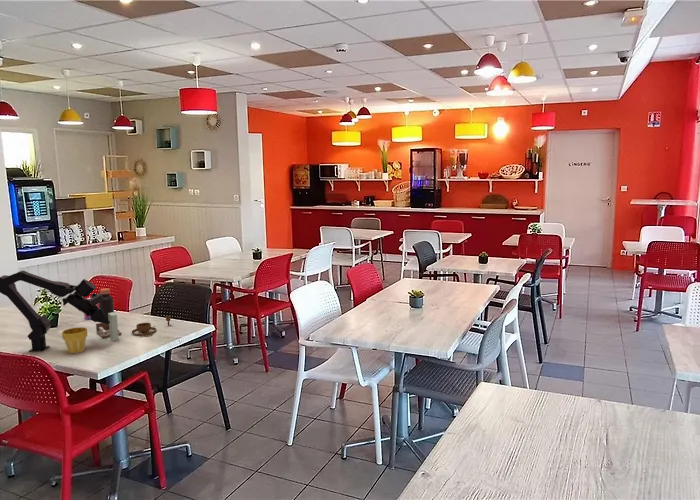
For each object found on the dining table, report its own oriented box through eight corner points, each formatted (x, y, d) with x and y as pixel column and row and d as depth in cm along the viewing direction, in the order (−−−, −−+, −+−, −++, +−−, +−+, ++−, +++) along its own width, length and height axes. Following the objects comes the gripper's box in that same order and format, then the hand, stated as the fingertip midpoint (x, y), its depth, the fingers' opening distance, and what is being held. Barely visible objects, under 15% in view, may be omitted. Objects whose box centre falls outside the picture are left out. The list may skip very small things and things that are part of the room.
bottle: (100, 325, 282) (96, 289, 279) (113, 322, 286) (110, 287, 283) (102, 327, 277) (99, 291, 274) (116, 325, 281) (113, 289, 278)
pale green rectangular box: (118, 340, 256) (116, 314, 254) (113, 341, 255) (111, 315, 253) (115, 337, 261) (113, 312, 259) (110, 338, 259) (108, 313, 257)
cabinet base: (121, 335, 264) (120, 325, 263) (102, 338, 259) (101, 329, 258) (115, 329, 274) (114, 320, 273) (96, 333, 268) (95, 323, 267)
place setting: (131, 330, 274) (130, 319, 273) (171, 325, 282) (170, 314, 281) (132, 339, 258) (131, 328, 257) (174, 334, 266) (173, 323, 265)
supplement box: (83, 319, 294) (81, 299, 292) (91, 316, 299) (90, 297, 298) (92, 320, 292) (90, 300, 290) (99, 317, 298) (98, 297, 296)
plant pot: (92, 350, 242) (90, 329, 241) (69, 356, 235) (66, 335, 233) (83, 345, 249) (81, 325, 248) (60, 351, 242) (58, 330, 240)
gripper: (96, 292, 241) (123, 311, 250) (87, 286, 256) (113, 304, 264) (79, 312, 238) (107, 330, 246) (71, 304, 252) (98, 322, 261)
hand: (107, 320), depth 255 cm, fingers open, 9 cm apart
